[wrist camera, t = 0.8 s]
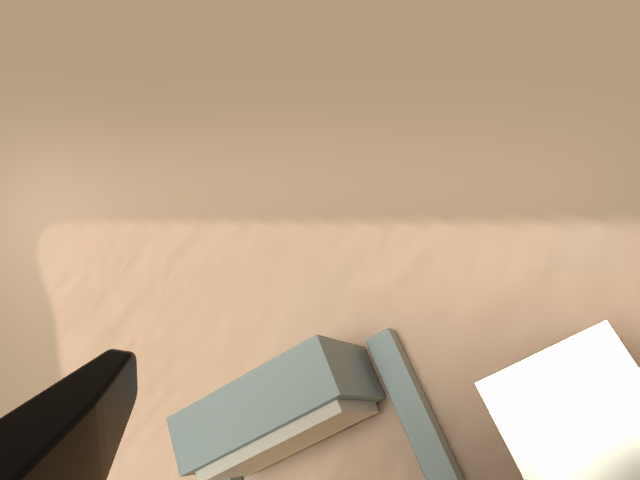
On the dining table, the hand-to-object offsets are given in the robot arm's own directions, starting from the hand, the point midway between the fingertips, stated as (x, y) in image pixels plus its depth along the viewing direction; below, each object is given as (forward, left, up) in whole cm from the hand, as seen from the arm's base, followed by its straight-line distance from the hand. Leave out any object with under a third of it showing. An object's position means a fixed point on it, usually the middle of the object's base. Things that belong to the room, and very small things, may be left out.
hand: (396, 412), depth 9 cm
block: (-1, -2, -15) cm, 15 cm away
